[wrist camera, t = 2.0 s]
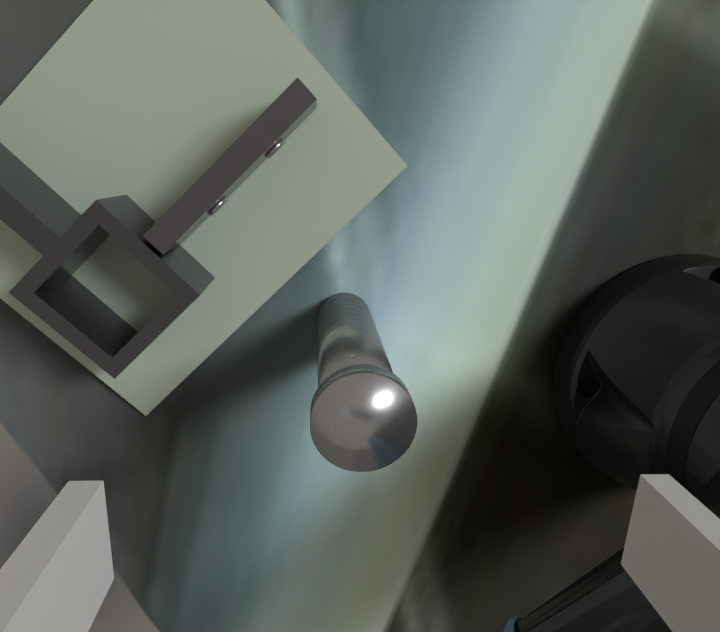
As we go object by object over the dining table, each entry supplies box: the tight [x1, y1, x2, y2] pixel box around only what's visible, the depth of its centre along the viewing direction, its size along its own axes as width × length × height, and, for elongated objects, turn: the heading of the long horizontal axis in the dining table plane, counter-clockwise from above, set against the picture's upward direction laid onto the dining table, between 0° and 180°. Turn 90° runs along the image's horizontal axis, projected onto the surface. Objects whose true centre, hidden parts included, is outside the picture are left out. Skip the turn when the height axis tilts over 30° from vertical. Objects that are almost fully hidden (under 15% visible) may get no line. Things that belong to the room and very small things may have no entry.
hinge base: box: [0, 142, 215, 379], centre depth 25 cm, size 16×6×4 cm, turn 43°
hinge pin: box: [310, 293, 417, 472], centre depth 25 cm, size 4×4×13 cm
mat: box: [0, 0, 407, 416], centre depth 28 cm, size 16×21×1 cm
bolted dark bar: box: [143, 77, 317, 254], centre depth 25 cm, size 1×10×4 cm, turn 133°
